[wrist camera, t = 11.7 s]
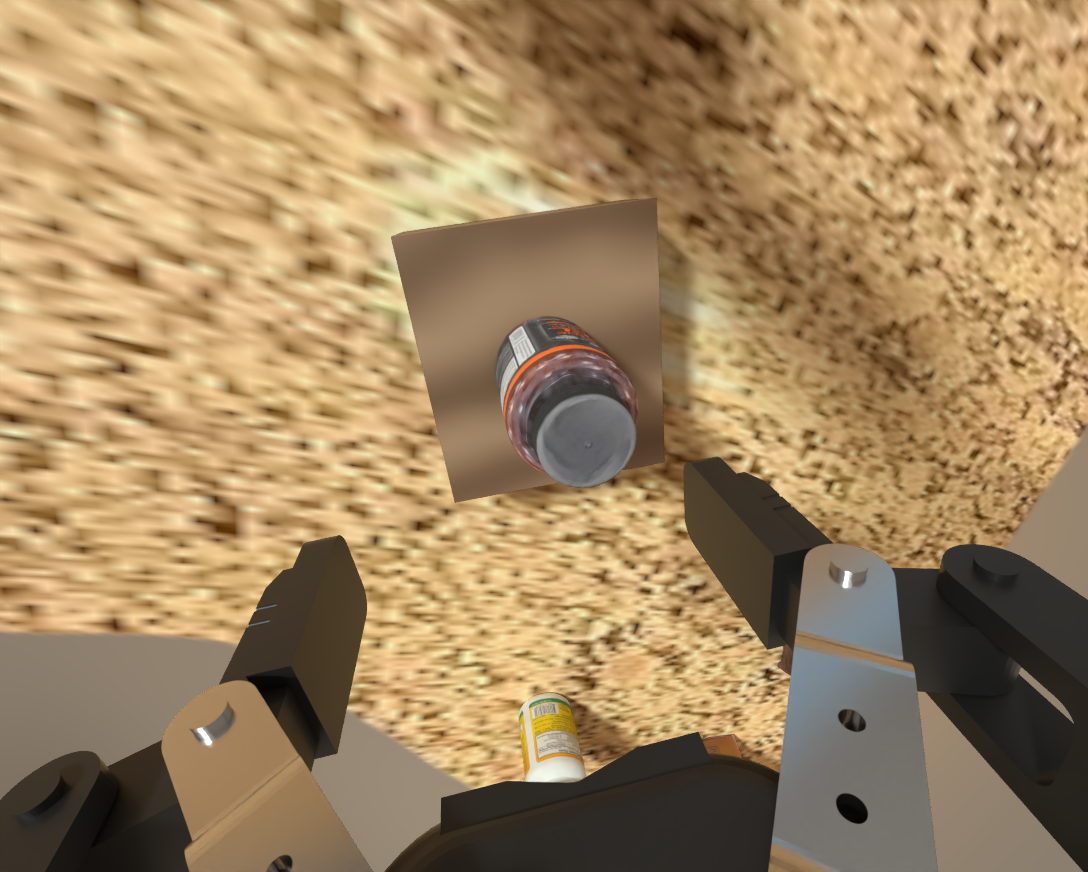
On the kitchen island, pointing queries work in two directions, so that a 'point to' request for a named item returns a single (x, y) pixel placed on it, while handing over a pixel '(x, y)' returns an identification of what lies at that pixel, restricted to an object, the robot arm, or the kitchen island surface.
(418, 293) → the walnut block
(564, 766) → the supplement bottle
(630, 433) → the supplement bottle
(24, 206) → the kitchen island surface
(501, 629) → the kitchen island surface
